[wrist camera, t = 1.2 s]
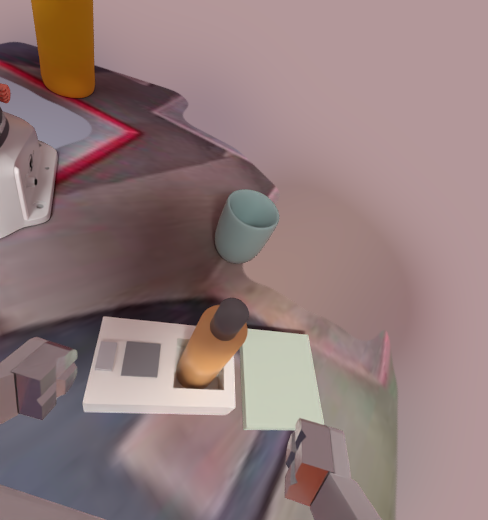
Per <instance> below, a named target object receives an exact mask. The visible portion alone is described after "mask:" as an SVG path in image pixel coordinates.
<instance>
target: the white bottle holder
mask: <svg viewBox="0 0 488 520" xmlns="http://www.w3.org/2000/svg"><path fill="white" fill-rule="evenodd" d="M195 328H196V326H193V325H183V324H173V323H163V322H154V321H144V320H134V319H124V318H115V317H105V316H103V320H102V324H101V328H100V333H99V337H98V341H97V345H96V349H95V353H94V358H93V362H92V366H91V370H90V374H89V378H88V383H87V387H86V391H85V395H84V399H83V409H84V412H106V413H153V414H199V415H227V414H228V413H229V412H231V411H232V410H233V409H235V375H234V355H233V357H232V358H231V359H230V360H229V361H228V363H227V364H226V365H225V366H224V367H223V369H222V370H221V371H220V372H219V373H218V375H217V376H216V377H215V378H214V379H213V380H212V382H211V383H210V384H209V385H208V386H207V387H206V388H204V389H186V388H185V387H183V386H182V385H181V384H180V382H179V381H178V379H177V375H176V367H177V364H178V362H179V360H180V358H181V356H182V354H183V352H184V350H185V348H186V346H187V344H188V342H189V340H190V338H191V336H192V334H193V332H194V330H195Z"/></svg>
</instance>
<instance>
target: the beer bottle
mask: <svg viewBox="0 0 488 520" xmlns="http://www.w3.org/2000/svg"><path fill="white" fill-rule="evenodd" d="M31 3H32V10H33V17H34V24H35V31H36V37H37V45H38V52H39V59H40V69H41V76H42V80H43V82H44V84H45V86H46V87H47V88H48V89H49V90H51V91H52V92H54V93H56V94H58V95H61V96H65V97H69V98H84V97H87V96H89V95H91V94H92V93H93V91H94V88H95V72H94V32H93V31H94V30H93V0H31Z"/></svg>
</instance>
